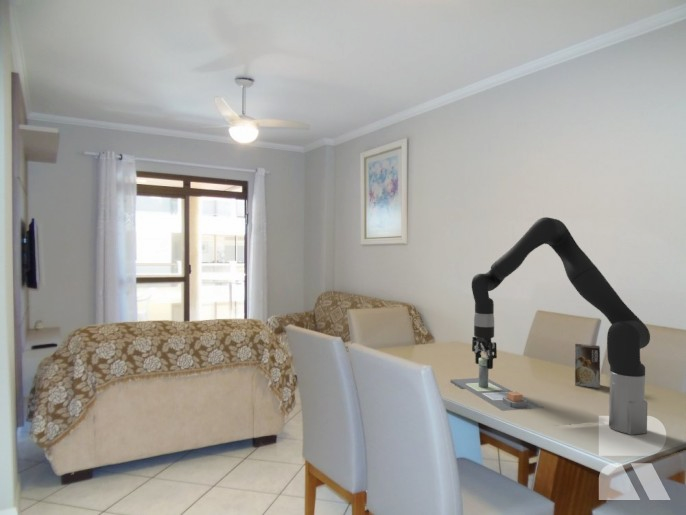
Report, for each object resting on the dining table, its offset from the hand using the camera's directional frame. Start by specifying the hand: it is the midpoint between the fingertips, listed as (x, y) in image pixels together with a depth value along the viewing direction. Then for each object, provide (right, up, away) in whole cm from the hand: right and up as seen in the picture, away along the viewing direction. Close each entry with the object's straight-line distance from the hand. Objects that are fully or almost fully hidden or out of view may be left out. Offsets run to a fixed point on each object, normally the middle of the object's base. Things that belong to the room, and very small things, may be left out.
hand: (483, 366), depth 184 cm
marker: (0, -8, 0) cm, 8 cm away
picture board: (+2, -9, -7) cm, 11 cm away
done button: (+5, -7, -20) cm, 22 cm away
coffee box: (+44, -10, +8) cm, 46 cm away
